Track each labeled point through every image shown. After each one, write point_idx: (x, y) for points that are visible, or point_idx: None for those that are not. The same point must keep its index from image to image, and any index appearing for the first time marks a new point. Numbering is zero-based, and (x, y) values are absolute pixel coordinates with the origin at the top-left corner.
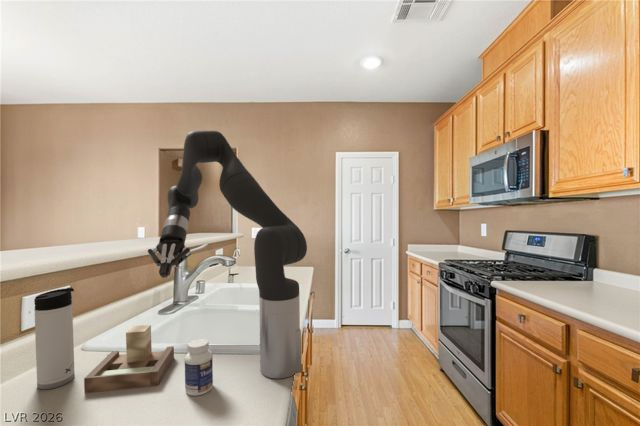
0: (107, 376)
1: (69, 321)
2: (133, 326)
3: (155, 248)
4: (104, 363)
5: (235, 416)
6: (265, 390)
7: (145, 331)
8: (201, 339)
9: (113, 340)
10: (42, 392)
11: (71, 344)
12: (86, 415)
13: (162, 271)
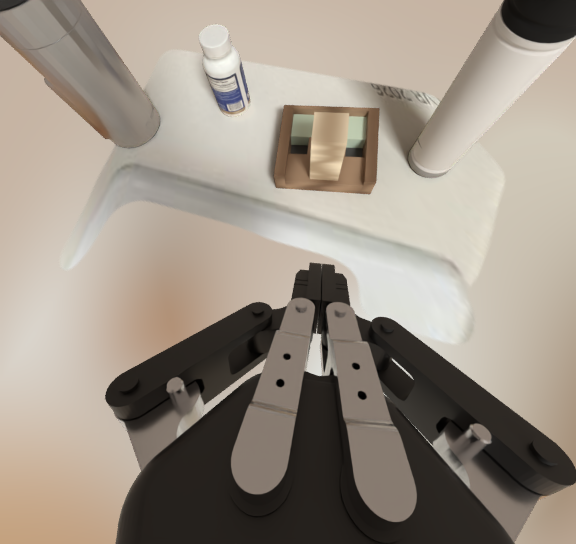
0: (348, 107)
1: (469, 60)
2: (345, 140)
3: (507, 524)
4: (369, 142)
5: (200, 58)
6: (164, 88)
7: (314, 117)
8: (208, 45)
9: (411, 295)
10: None
11: (437, 112)
12: (348, 85)
13: (327, 269)
